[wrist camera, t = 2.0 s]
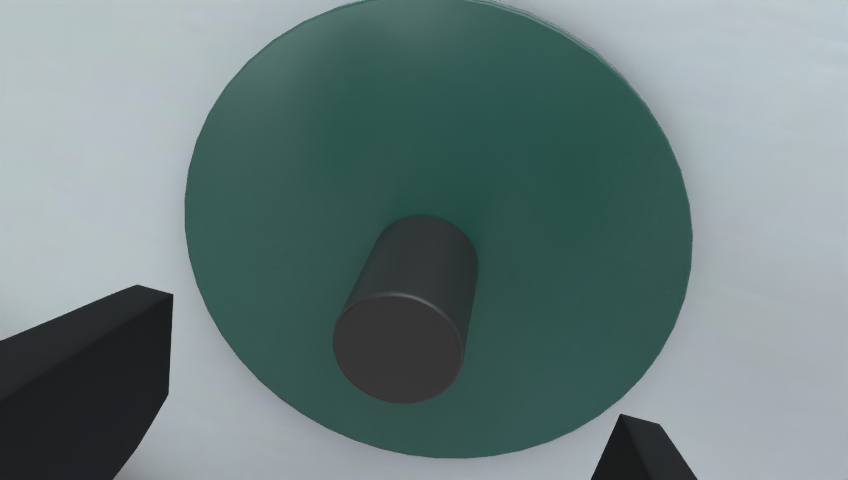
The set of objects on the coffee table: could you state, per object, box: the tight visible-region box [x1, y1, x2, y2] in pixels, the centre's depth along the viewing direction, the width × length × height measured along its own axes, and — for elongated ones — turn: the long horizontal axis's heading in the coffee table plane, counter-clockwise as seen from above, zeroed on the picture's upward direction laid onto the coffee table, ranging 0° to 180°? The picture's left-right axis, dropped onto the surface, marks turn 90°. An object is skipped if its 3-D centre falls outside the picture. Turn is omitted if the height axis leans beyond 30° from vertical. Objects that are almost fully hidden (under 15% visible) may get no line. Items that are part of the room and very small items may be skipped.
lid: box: [185, 0, 693, 458], centre depth 14 cm, size 11×11×5 cm
